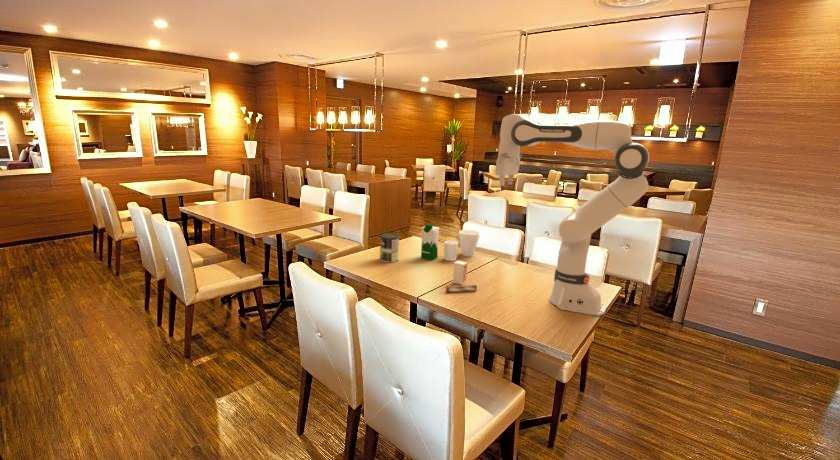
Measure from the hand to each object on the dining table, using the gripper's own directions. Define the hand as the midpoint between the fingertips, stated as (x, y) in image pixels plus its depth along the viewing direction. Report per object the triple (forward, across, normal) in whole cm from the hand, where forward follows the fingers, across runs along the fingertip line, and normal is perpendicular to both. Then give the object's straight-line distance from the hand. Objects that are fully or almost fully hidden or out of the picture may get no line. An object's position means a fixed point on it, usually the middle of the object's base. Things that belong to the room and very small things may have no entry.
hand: (506, 185), depth 170 cm
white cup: (+47, +24, +38) cm, 65 cm away
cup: (+47, +39, +34) cm, 70 cm away
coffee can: (+48, +2, +64) cm, 80 cm away
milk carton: (+47, +19, +48) cm, 70 cm away
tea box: (+48, -5, +17) cm, 51 cm away
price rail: (+48, -15, +11) cm, 51 cm away
